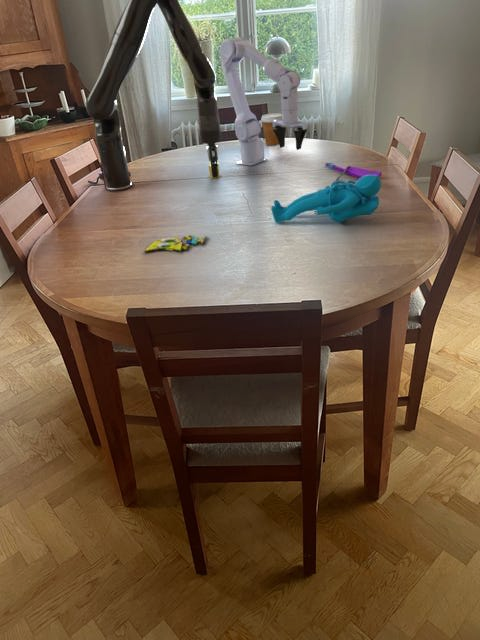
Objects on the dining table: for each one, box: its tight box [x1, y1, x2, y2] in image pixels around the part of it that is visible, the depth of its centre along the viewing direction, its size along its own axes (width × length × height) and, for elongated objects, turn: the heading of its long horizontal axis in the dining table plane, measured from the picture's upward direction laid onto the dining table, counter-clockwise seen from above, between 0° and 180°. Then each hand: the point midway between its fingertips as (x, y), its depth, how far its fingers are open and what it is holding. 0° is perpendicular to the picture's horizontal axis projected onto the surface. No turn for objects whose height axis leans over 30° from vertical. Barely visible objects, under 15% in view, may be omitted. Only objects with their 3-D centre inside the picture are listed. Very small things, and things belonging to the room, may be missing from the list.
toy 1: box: [144, 234, 207, 254], centre depth 130 cm, size 10×1×15 cm
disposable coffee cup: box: [260, 112, 282, 146], centre depth 214 cm, size 10×10×12 cm
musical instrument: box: [324, 162, 382, 185], centre depth 168 cm, size 24×2×20 cm
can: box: [208, 162, 221, 179], centre depth 180 cm, size 4×4×5 cm
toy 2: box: [270, 175, 382, 224], centre depth 134 cm, size 17×11×30 cm
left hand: (214, 174), depth 181 cm, fingers open, 5 cm apart
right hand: (290, 148), depth 181 cm, fingers open, 7 cm apart
